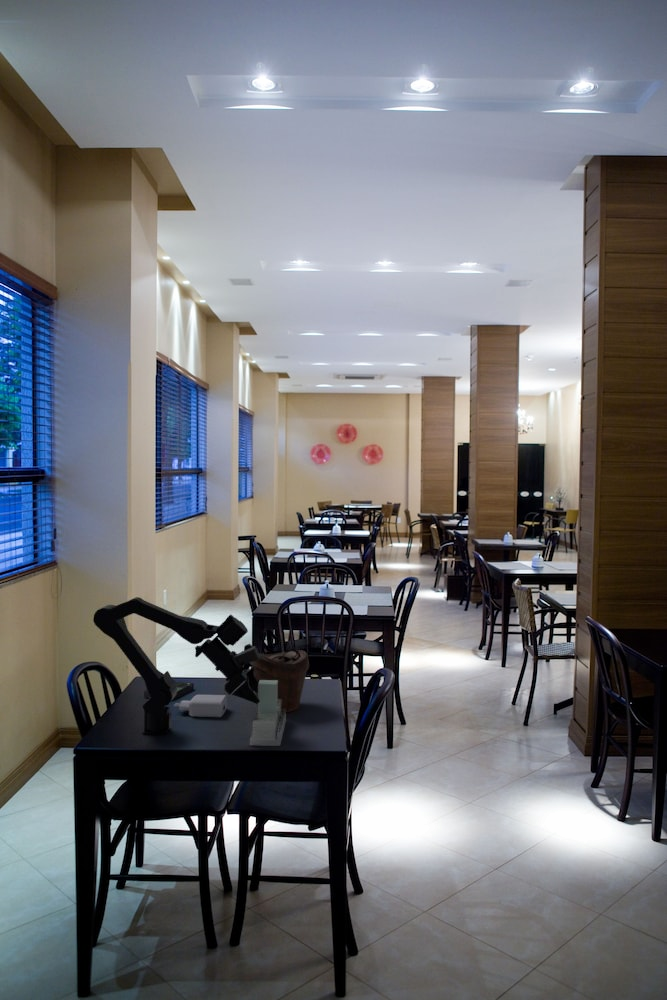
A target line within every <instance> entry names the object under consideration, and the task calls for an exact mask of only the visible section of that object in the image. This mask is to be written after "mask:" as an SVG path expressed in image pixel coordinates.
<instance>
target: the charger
mask: <svg viewBox="0 0 667 1000" xmlns="http://www.w3.org/2000/svg"><path fill="white" fill-rule="evenodd" d="M227 702H228V701H227V694H226V695H225V694H196V695H194V696H193V697H192V698H191V699H190V700H181V701H180V702H175V703H174V704H173V707H178V709H179V710H180V711H188V715H189V716H190V717H192V718H193V717H195V718H196V717H198V718H222V717H223V715H224V714H225V712H226V710H227V707H228V706H227Z"/></svg>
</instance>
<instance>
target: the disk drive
mask: <svg viewBox="0 0 667 1000" xmlns="http://www.w3.org/2000/svg"><path fill="white" fill-rule="evenodd" d="M194 684H195V683H194V682H186V681H176V683H175V685H176V687H177V693H176V695H175V697H174V698H173V699H172V701H174V700H176V699H178V698H180V697H182V696H183V695H186V694H188V693H190V692H192V691H193V690H194V689H195V685H194ZM143 698H144V699H149V698H150V696H149V694H148V692H147V689H146V690H144V691H143Z"/></svg>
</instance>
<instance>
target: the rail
mask: <svg viewBox="0 0 667 1000" xmlns="http://www.w3.org/2000/svg"><path fill="white" fill-rule="evenodd" d="M281 703H282V699H278V703H277V713H258V712H255V714H254V716H253V719H252V732H251V736H250V738H249V746H261V747H264V746H265V747H267V746H268V747H269V746H270V747H276V746H277V747H279V746H281V743H282V740H283V736H284V735H283V734H284V731H285V728H286V727H285V726H286V722H287V721H286V720H287V712H286V709H283V712H281Z"/></svg>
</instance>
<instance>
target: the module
mask: <svg viewBox="0 0 667 1000" xmlns="http://www.w3.org/2000/svg"><path fill="white" fill-rule="evenodd" d="M258 699H259V700H260V702H259V703H258V705H257V713H277V703H278V680H260V681H259V683H258Z"/></svg>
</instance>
